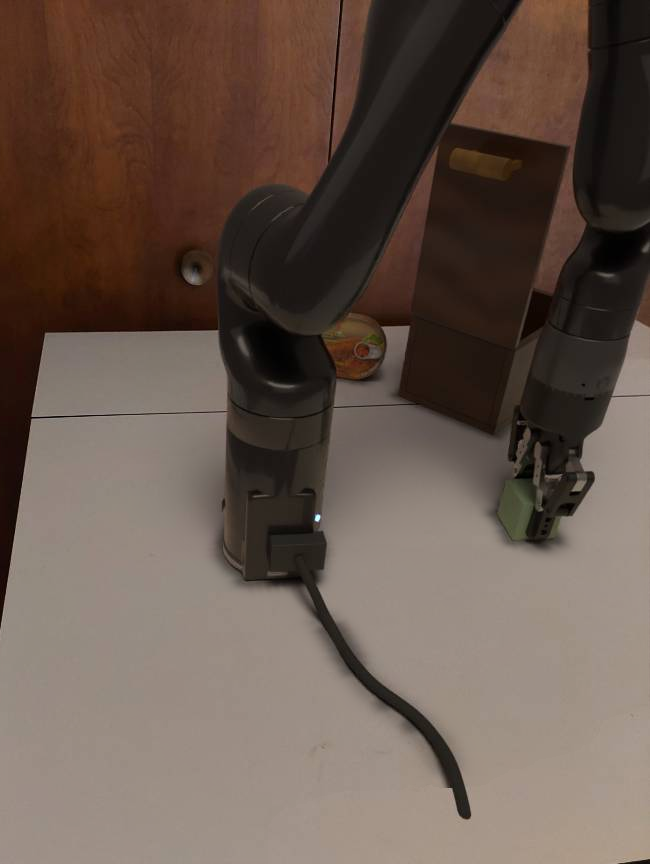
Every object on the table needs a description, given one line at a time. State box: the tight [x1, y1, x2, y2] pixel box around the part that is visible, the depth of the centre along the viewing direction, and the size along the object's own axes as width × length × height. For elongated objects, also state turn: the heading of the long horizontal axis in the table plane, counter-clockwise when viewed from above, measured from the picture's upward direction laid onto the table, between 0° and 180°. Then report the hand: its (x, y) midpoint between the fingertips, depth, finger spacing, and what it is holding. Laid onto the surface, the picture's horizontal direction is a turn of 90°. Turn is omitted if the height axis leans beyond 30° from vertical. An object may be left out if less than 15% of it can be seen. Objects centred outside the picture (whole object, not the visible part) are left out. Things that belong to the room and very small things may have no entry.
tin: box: [322, 312, 388, 380], centre depth 107 cm, size 15×3×8 cm, turn 73°
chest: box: [397, 287, 554, 435], centre depth 104 cm, size 20×14×11 cm
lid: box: [409, 122, 571, 348], centre depth 86 cm, size 21×14×5 cm
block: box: [496, 478, 563, 541], centre depth 82 cm, size 4×4×4 cm
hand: (526, 521), depth 83 cm, fingers closed on block, 4 cm apart
